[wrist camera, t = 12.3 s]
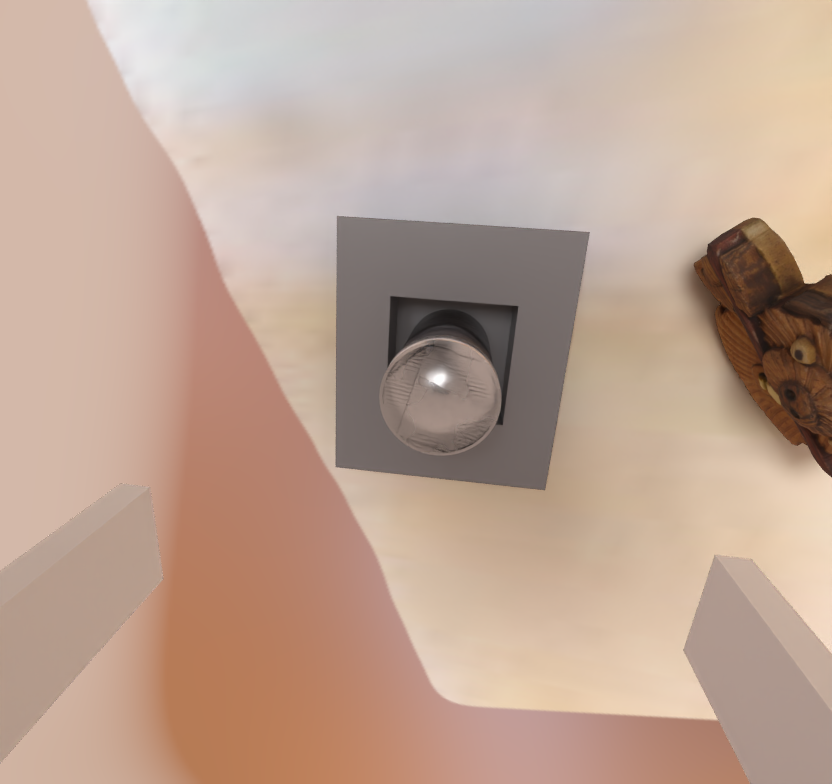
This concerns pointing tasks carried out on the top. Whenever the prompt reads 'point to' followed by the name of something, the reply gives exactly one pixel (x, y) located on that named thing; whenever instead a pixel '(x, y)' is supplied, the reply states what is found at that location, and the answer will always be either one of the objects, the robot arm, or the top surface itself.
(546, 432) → the grey recessed frame block
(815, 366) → the wooden carving
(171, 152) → the top surface
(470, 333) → the lens
